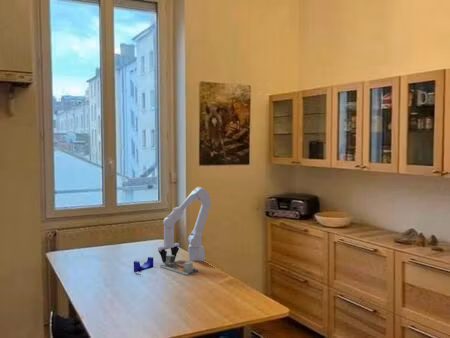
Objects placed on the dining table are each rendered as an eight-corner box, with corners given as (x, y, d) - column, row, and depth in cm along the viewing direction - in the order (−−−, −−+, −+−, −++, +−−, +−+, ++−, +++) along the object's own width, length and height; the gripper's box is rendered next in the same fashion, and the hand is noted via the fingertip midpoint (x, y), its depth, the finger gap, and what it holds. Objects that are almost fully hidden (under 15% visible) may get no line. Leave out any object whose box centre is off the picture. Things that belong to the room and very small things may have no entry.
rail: (173, 266, 266) (173, 261, 266) (200, 274, 251) (200, 269, 251) (159, 269, 258) (159, 265, 258) (186, 278, 244) (186, 273, 243)
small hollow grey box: (188, 270, 252) (188, 261, 252) (192, 271, 250) (192, 262, 250) (183, 272, 250) (183, 262, 249) (187, 273, 248) (187, 264, 247)
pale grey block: (167, 261, 275) (167, 253, 274) (174, 264, 270) (174, 255, 270) (163, 263, 272) (163, 254, 272) (170, 265, 268) (170, 256, 267)
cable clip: (147, 266, 265) (147, 256, 265) (153, 268, 262) (153, 257, 262) (131, 271, 255) (131, 260, 255) (137, 273, 253) (137, 262, 252)
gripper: (173, 234, 278) (173, 257, 279) (154, 238, 267) (154, 262, 268) (181, 236, 273) (181, 259, 274) (162, 240, 263) (162, 264, 264)
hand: (168, 260), depth 271 cm, fingers open, 7 cm apart
